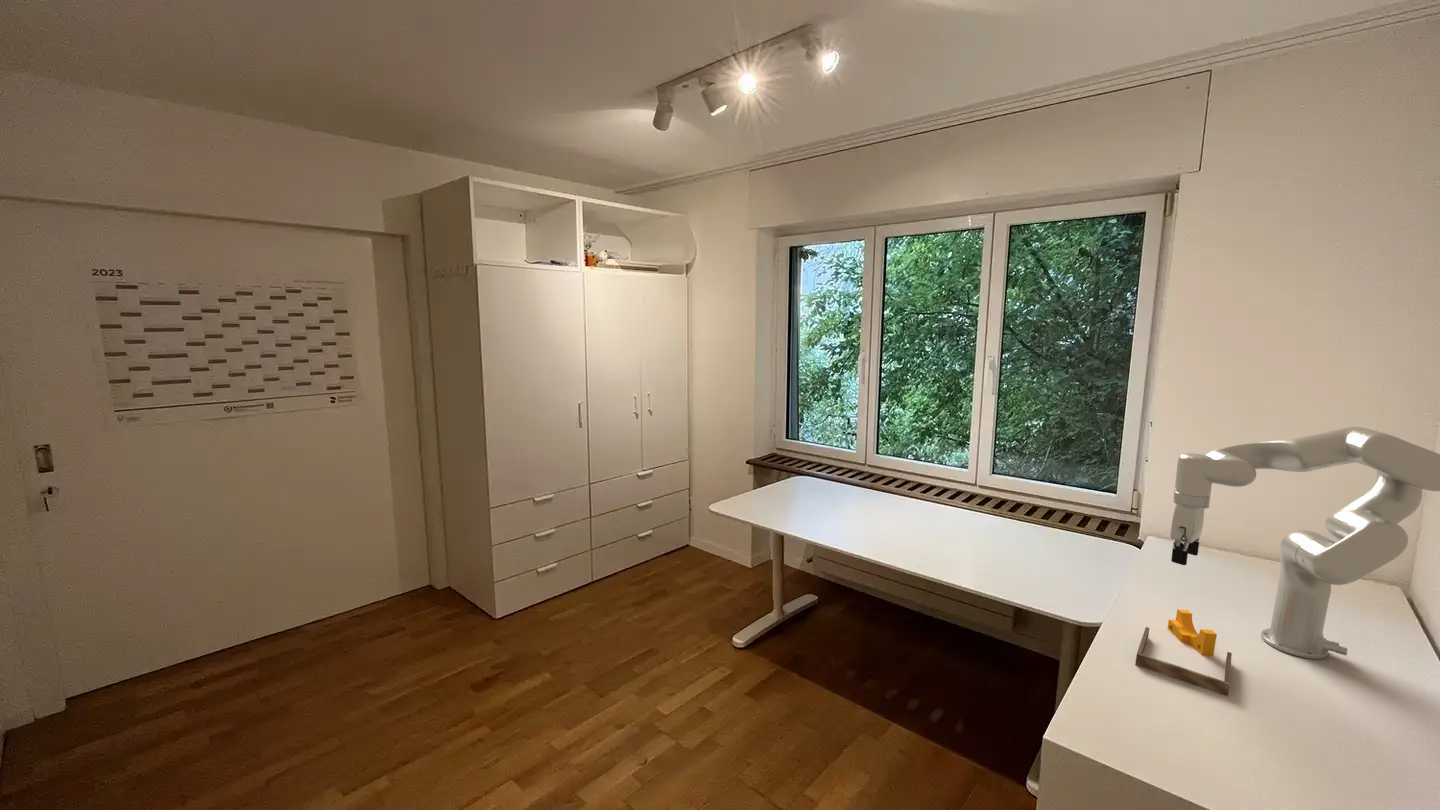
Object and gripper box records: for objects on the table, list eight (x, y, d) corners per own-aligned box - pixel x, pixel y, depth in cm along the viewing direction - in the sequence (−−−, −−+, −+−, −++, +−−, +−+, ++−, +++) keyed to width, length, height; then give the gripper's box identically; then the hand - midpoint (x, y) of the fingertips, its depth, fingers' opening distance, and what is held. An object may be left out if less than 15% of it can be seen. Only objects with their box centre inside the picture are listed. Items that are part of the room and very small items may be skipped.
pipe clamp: (1167, 629, 159) (1170, 608, 158) (1184, 631, 159) (1187, 610, 158) (1194, 655, 148) (1197, 632, 147) (1213, 656, 147) (1216, 634, 146)
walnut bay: (1229, 663, 144) (1231, 652, 143) (1227, 696, 132) (1229, 684, 131) (1144, 636, 156) (1145, 626, 155) (1135, 664, 143) (1136, 653, 143)
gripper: (1184, 489, 161) (1178, 546, 164) (1163, 502, 151) (1157, 562, 154) (1218, 496, 156) (1211, 554, 158) (1199, 509, 145) (1191, 572, 148)
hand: (1184, 558), depth 156 cm, fingers open, 9 cm apart
